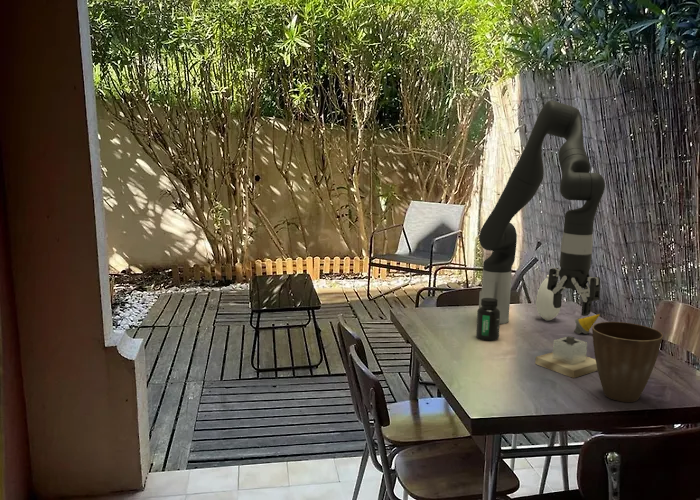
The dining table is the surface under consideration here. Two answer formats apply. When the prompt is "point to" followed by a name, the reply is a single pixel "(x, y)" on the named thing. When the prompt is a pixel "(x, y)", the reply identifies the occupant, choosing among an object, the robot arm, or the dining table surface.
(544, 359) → the post block
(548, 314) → the white vase
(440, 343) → the dining table surface
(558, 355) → the collar
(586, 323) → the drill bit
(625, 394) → the plant pot
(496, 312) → the supplement bottle
